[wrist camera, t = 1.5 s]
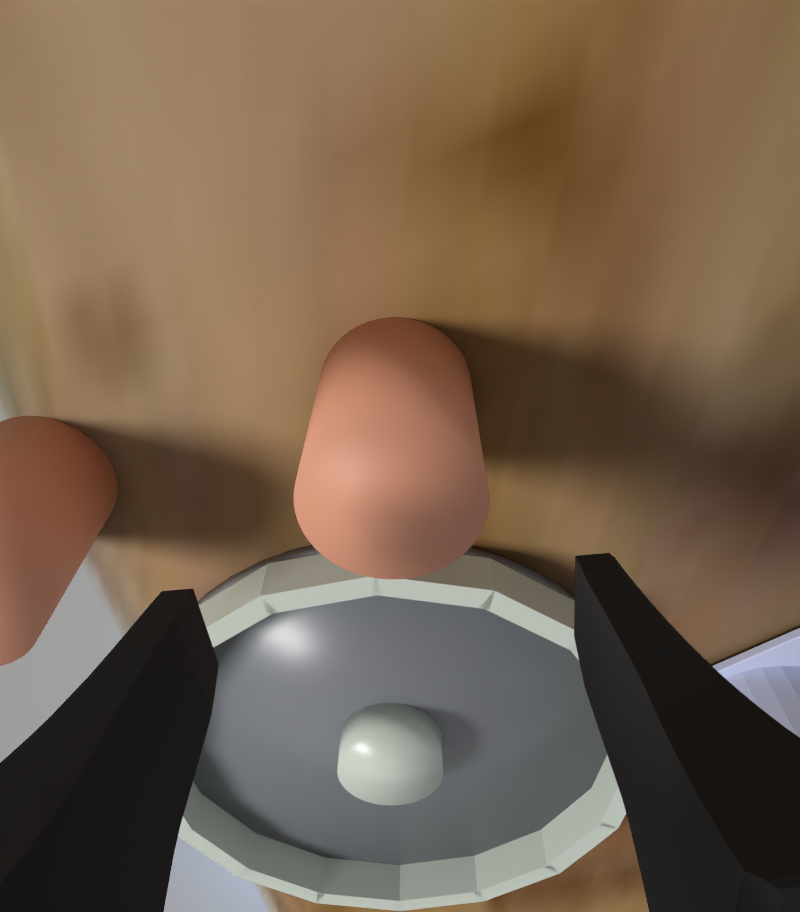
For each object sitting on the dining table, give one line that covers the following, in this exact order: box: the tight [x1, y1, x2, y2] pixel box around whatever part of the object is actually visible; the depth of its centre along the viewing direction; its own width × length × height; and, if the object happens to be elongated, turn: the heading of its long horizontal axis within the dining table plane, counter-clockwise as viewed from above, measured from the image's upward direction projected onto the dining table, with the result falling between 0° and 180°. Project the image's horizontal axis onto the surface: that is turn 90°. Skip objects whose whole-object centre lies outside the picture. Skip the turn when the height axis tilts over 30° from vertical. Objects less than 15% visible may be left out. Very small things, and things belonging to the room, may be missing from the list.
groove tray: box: [178, 545, 626, 911], centre depth 29 cm, size 19×19×2 cm
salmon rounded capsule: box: [294, 317, 489, 579], centre depth 20 cm, size 4×4×6 cm
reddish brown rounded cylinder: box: [0, 416, 118, 666], centre depth 22 cm, size 4×4×6 cm
